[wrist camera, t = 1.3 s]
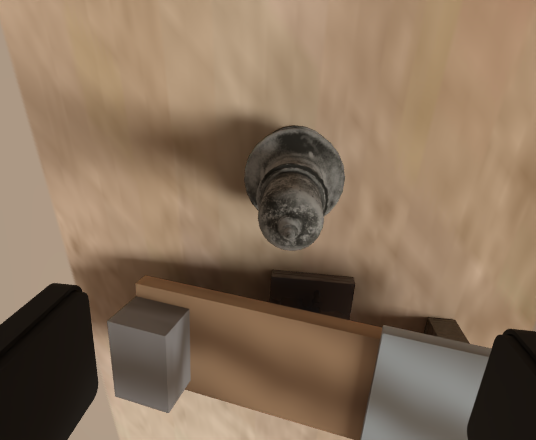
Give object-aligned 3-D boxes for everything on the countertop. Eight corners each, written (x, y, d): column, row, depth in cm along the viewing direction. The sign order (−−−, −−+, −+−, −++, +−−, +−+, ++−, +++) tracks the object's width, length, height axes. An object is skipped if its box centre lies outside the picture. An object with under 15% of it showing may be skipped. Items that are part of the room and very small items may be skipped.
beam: (144, 262, 27) (104, 292, 23) (537, 345, 21) (569, 405, 17) (151, 376, 30) (117, 418, 26) (487, 474, 24) (505, 547, 20)
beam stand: (167, 259, 29) (143, 292, 25) (464, 287, 28) (494, 327, 24) (170, 345, 32) (150, 388, 28) (440, 374, 31) (462, 424, 27)
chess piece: (280, 221, 27) (265, 324, 16) (234, 151, 26) (183, 210, 15) (355, 180, 26) (395, 261, 15) (311, 102, 24) (318, 128, 13)
